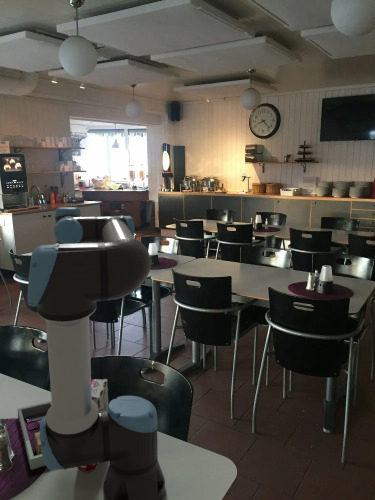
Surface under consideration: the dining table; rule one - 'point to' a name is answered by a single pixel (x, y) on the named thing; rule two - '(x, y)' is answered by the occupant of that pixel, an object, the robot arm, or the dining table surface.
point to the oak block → (38, 443)
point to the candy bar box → (100, 392)
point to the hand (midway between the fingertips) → (73, 330)
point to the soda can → (87, 468)
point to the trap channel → (29, 413)
